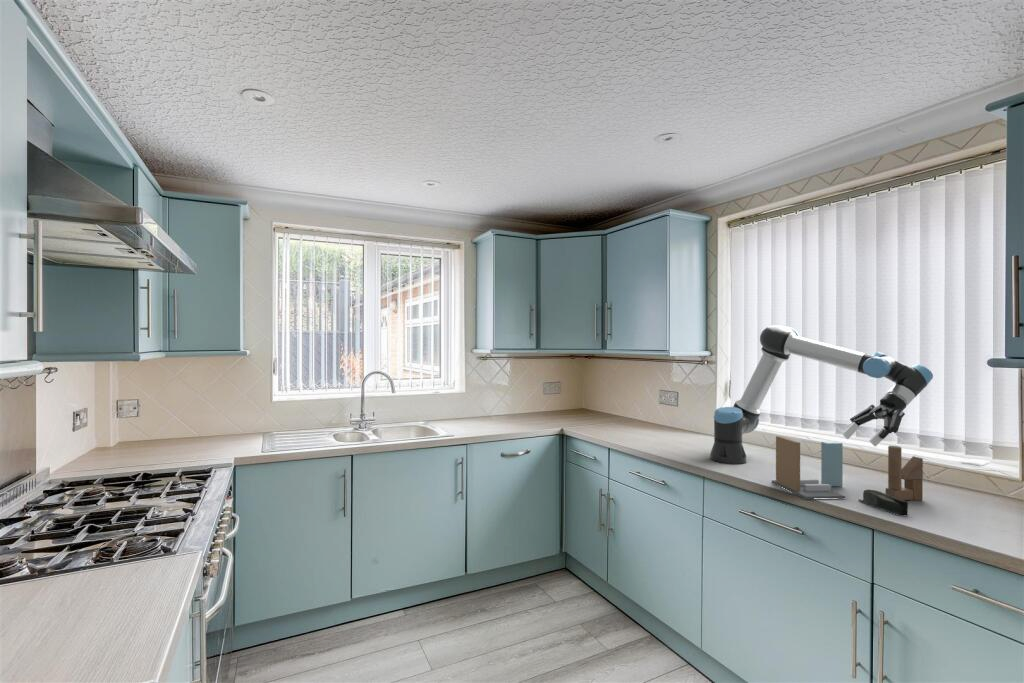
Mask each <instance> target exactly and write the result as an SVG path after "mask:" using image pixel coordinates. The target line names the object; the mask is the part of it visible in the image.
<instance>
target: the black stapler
mask: <svg viewBox="0 0 1024 683" xmlns="http://www.w3.org/2000/svg"><path fill="white" fill-rule="evenodd" d="M857 501H858V502H860V501H861V503H863V502H864V503H863V504H866V503H867V505H869V506H871V505H872V506H871V507H874V506H875V507H874V508H877V507H878V508H877V509H880V508H881V510H882V509H884V510H883V511H885V510H886V512H888V511H889V512H888V513H891V512H892V513H891V514H893V513H895V514H894V515H896V514H898V516H900V515H907V516H908V513H909V512H908V511H909V510H908V508H909V503H908V501H903V500H901V499H898V498H895V497H893V496H890V495H887V494H886V493H885V492H881V491H879V490H875V489H865V490H863V492H862V499H860V498H859V499H858V500H857Z"/></svg>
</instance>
